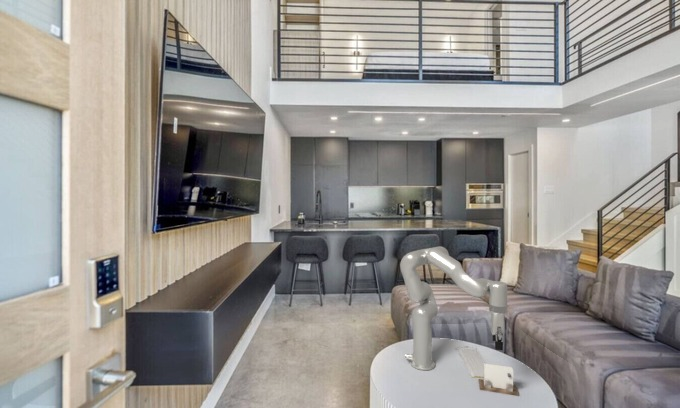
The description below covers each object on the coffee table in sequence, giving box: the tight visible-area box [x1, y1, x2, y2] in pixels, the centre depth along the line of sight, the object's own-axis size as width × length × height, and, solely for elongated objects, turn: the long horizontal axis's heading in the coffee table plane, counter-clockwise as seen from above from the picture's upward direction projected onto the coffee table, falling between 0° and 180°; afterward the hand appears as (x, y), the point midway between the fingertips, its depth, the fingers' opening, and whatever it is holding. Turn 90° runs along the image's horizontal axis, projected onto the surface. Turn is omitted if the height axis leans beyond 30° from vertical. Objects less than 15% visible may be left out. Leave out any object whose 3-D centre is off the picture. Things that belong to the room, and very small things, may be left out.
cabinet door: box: [483, 363, 514, 389], centre depth 157 cm, size 12×4×9 cm, turn 72°
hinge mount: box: [478, 378, 520, 397], centre depth 157 cm, size 16×8×4 cm, turn 72°
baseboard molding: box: [454, 346, 486, 379], centre depth 182 cm, size 31×3×12 cm
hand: (497, 345), depth 157 cm, fingers open, 9 cm apart
